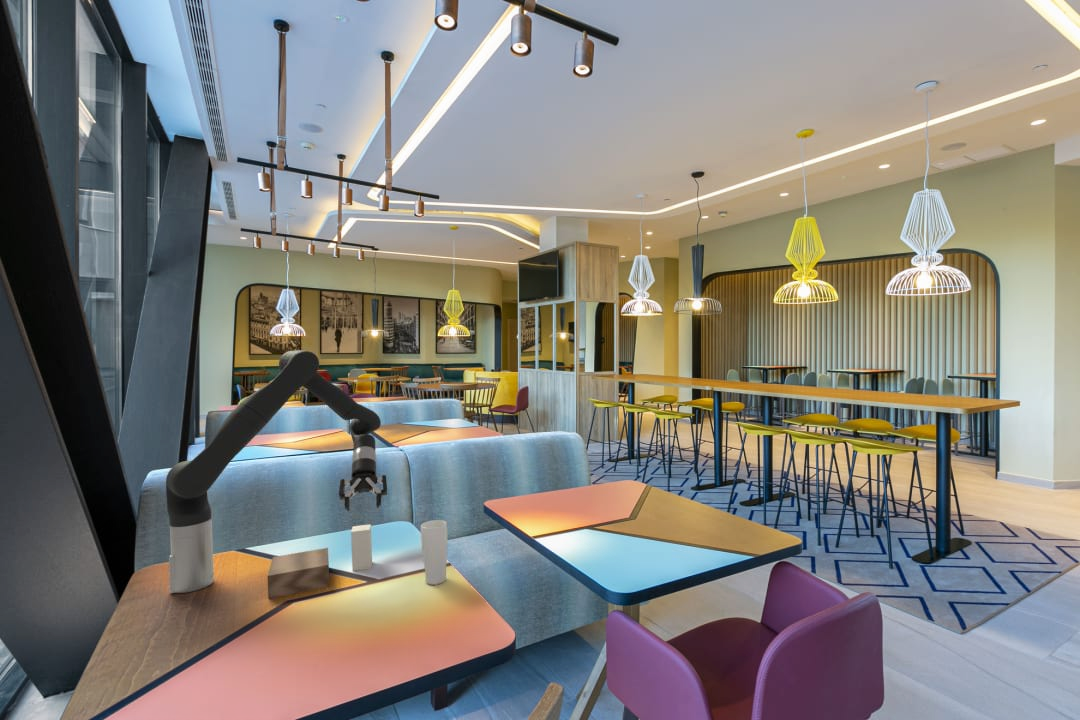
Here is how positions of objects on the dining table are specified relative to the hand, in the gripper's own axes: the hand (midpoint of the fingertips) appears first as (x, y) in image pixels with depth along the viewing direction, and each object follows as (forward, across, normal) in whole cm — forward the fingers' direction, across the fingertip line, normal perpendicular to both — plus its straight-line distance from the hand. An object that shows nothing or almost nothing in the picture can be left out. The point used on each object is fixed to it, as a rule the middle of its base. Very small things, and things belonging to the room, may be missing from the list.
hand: (363, 508), depth 152 cm
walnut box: (+21, -15, 0) cm, 26 cm away
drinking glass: (+30, +19, -10) cm, 37 cm away
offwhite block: (+17, 0, +3) cm, 17 cm away
